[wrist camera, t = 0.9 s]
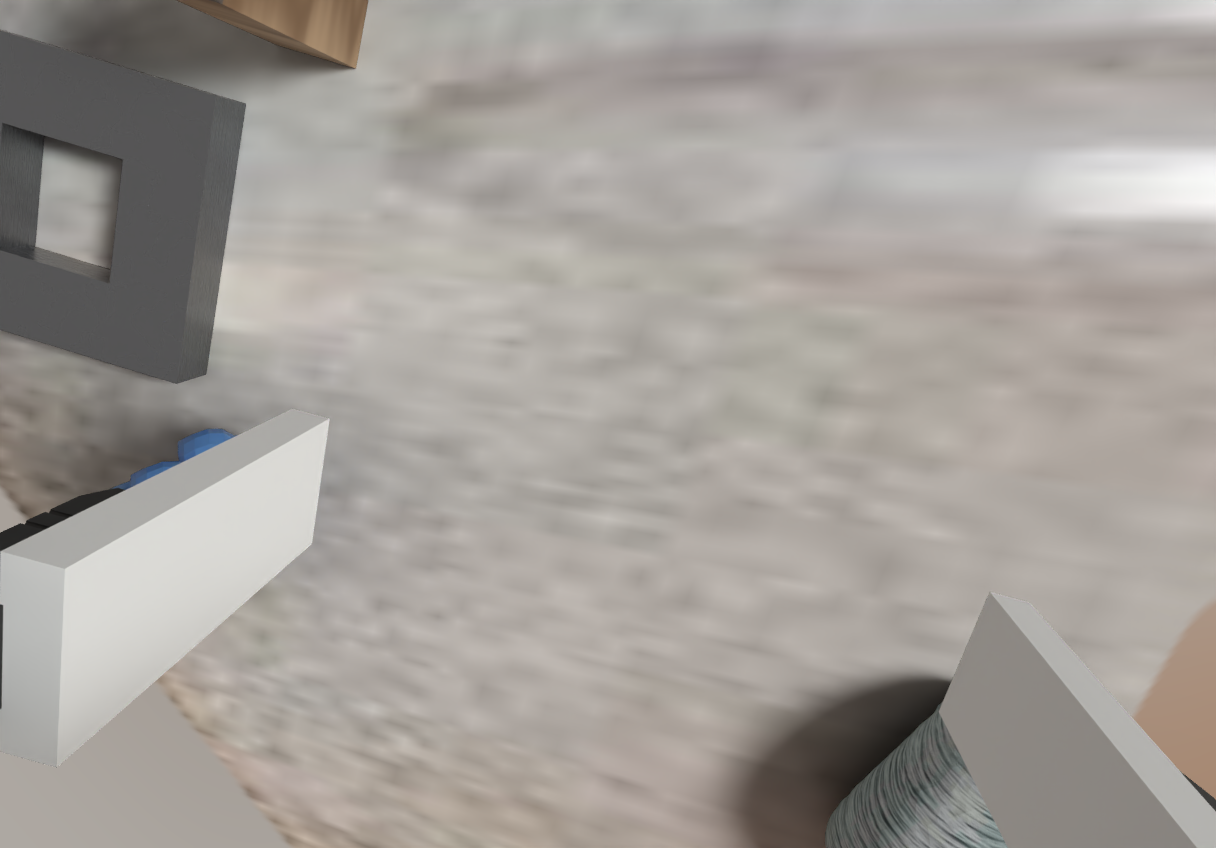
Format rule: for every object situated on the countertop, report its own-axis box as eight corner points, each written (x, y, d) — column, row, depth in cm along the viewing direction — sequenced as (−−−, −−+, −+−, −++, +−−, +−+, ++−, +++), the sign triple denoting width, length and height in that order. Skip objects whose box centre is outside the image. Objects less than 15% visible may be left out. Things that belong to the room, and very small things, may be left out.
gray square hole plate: (-27, 21, 37) (-75, 7, 35) (245, 103, 37) (215, 95, 35) (-42, 298, 41) (-86, 303, 39) (206, 374, 41) (176, 383, 39)
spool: (965, 644, 37) (1081, 870, 30) (1056, 689, 42) (1175, 893, 35) (761, 758, 44) (816, 967, 37) (860, 786, 49) (927, 975, 41)
